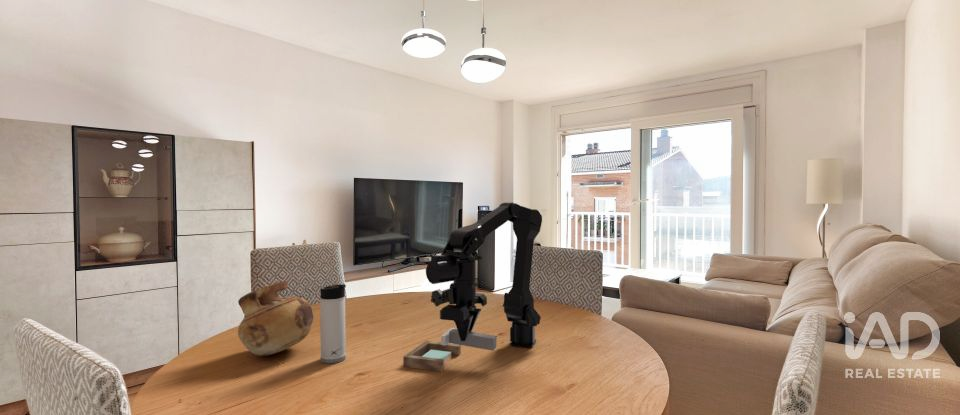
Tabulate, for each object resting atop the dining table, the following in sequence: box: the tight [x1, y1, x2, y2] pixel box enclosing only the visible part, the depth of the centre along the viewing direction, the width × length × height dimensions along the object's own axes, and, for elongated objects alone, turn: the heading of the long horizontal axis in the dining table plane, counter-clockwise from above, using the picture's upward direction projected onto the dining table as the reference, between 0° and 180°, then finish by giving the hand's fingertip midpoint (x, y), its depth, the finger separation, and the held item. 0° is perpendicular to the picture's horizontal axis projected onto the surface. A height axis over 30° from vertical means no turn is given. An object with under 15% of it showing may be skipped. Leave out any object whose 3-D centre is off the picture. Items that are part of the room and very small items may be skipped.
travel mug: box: [319, 283, 347, 365], centre depth 114 cm, size 6×7×20 cm
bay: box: [402, 340, 462, 372], centre depth 113 cm, size 10×13×2 cm
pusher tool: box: [440, 327, 498, 352], centre depth 109 cm, size 13×7×3 cm, turn 71°
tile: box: [422, 350, 452, 365], centre depth 113 cm, size 6×6×2 cm
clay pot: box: [237, 280, 314, 357], centre depth 118 cm, size 19×19×20 cm
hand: (465, 339), depth 110 cm, fingers closed on pusher tool, 2 cm apart
